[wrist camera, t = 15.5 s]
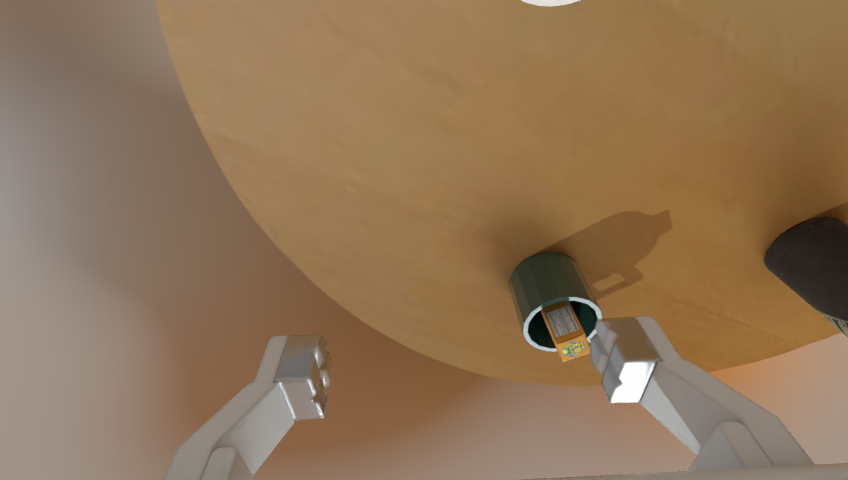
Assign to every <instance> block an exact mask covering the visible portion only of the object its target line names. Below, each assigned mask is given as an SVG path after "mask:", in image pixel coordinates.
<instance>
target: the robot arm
mask: <svg viewBox="0 0 848 480" xmlns="http://www.w3.org/2000/svg"><path fill="white" fill-rule="evenodd" d="M595 330H596V332H597V335H595V336H594V337H593V338H592V340H591V344H590V354H591V359H592V362H593V365H594V367H595V370H597V371H598V372H599V373H600V374H602V375H603V379H602V382H601V383H602V386H603V388H604V390H605V392H606V394H607V396H608V399H609V401H610V403H627V402H640V404H641V405H642V406H643V407H644V408H645V409H646V410H647V411H648V412H650V413H651V414H652V415H653V416H654V417H655V418H656V419H657V420H658V421H659V422H661V423H662V424H663V425H664V426H665V427H666V428H667V429H668V430H669V431H670V432H672V433H673V434H674V435H675V436H676V437H677V438H678V439H679V440H680V441H681V442H682V443H684V444H685V445H686V446H687V447H688V448H689V449H690V450H691V451H692V452H693V453H695V454H696V455H697V457H696V459H695V460H694V462H693V463H692V465H691V466H690V468H689V470H688V471H682V472H663V473H643V474H626V475H604V476H585V477H565V478H544V479H524V480H848V463H840V464H839V463H838V464H819V465H815V464H814V463H813V461H812V460H811V459H810V458H809V456H808V455H807V454H806V452H805V451H804V450H803V449H802V447H801V446H800V445H799V444H798V442H797V441H796V440H795V438H794V437H793V436H792V435H791V433H790V432H789V431H788V430H787V428H786V427H785V426H784V424H783V423H782V422H781V420H780V419H779V418H778V417H777V416H775V415H774V414H772V413H770V412H769V411H767V410H765V409H764V408H763V407H761V406H759V405H758V404H756V403H754V402H753V401H751V400H750V399H748V398H747V397H745V396H743V395H742V394H740V393H739V392H737V391H736V390H734V389H732V388H731V387H729V386H728V385H726V384H725V383H723V382H721V381H720V380H718V379H717V378H715V377H713V376H712V375H710V374H709V373H707V372H706V371H704V370H702V369H701V368H699V367H698V366H696V365H694V364H693V363H691V362H690V361H688V360H682V359H681V357H680V356H679V354H678V353H677V351H676V350H675V348H674V347H673V345H672V344H671V342H670V341H669V339H668V338H667V336H666V335H665V333H664V332H663V330H662V329H661V327H660V326H659V325H658V323H657V322H656V320H655V319H654V318H653V317H651V316H645V317H633V318H632V317H625V318H610V319H599V320H598V321H597V322H596V325H595ZM326 343H327V342H326V339H325V336H324V335H296V336H273V337H272V338H271V339H270V341H269V343H268V346H267V348H266V351H265V354H264V356H263V359H262V362H261V365H260V367H259V370H258V373H257V376H256V378H255V381H254V383H253V384H248V385H247V386H246V387H245V388H243V389H242V390H241V391H240V392H239V393H238V394H237V395H236V396H235V397H234V398H232V399H231V401H229V402H228V403H227V404H226V405H225V406H224V407H223V408H221V409H220V410H219V411H218V412H217V413H216V414H215V415H214V416H213V417H212V418H210V420H208V421H207V422H206V423H205V424H204V425H203V426H202V427H201V428H199V430H197V431H196V432H195V433H194V434H193V435H192V436H191V437H190V438H188V439H187V440H186V441H185V442H184V443H183V444H182V445H181V446H180V447H179V448H178V449H177V452H176V454H175V456H174V458H173V460H172V462H171V464H170V466H169V468H168V471H167V473H166V475H165V477H164V479H163V480H255V478H254V477H253V475H254V474H255V472H256V471H257V470H258V469H259V467H260V466H261V465H262V463H263V462H264V461H265V460H266V458H267V457H268V456H269V454H270V453H271V452H272V450H273V449H274V448H275V446H276V445H277V444H278V443H279V442H280V440H281V439H282V438H283V436H284V435H285V434H286V432H287V431H288V430H289V428H290V427H291V426H292V425H293V423H294V420H304V419H316V418H323V417H324V412H325V407H326V402H327V394H326V391H325V388H327V386H328V385H329V384H330V381H331V372H332V363H331V357H330V353H329V352H328V351H327V350H325V348H326Z"/></svg>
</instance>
